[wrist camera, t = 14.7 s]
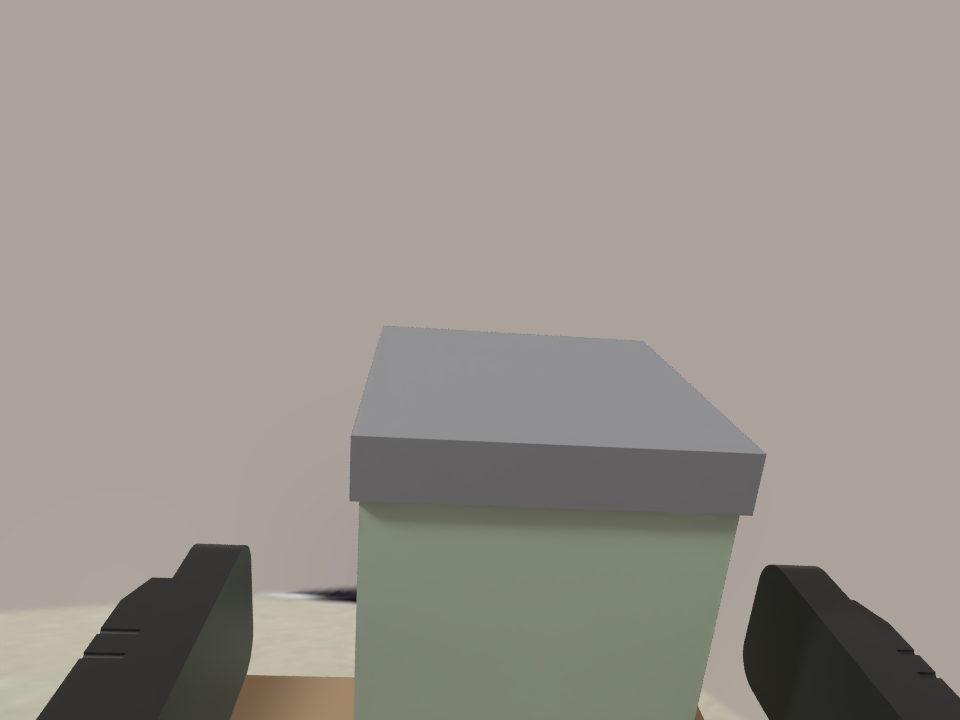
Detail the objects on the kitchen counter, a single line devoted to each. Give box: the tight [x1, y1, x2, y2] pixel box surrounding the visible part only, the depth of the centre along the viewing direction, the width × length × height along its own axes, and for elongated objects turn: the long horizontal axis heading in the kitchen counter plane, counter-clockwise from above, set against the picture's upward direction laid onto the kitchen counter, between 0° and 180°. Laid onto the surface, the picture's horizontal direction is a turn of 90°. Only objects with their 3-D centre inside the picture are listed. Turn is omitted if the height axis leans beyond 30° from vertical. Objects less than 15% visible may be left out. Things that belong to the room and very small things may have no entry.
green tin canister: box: [350, 326, 766, 720], centre depth 11 cm, size 5×5×12 cm
